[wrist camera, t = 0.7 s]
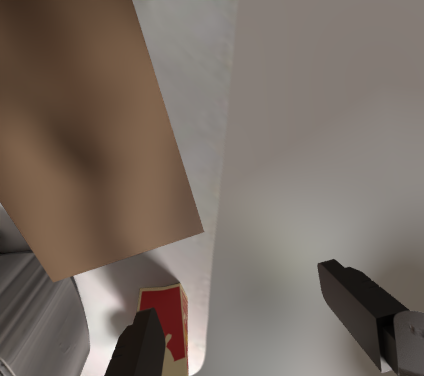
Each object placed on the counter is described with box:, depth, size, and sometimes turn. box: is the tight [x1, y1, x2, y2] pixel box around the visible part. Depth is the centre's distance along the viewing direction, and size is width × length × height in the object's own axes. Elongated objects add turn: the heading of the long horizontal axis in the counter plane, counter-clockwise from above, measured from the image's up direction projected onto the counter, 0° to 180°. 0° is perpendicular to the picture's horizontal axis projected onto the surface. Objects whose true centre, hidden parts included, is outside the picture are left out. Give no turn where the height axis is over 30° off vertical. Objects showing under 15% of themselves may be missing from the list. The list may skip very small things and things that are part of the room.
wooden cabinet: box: [0, 0, 204, 282], centre depth 23 cm, size 22×18×21 cm
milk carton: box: [137, 283, 188, 376], centre depth 36 cm, size 9×9×20 cm
